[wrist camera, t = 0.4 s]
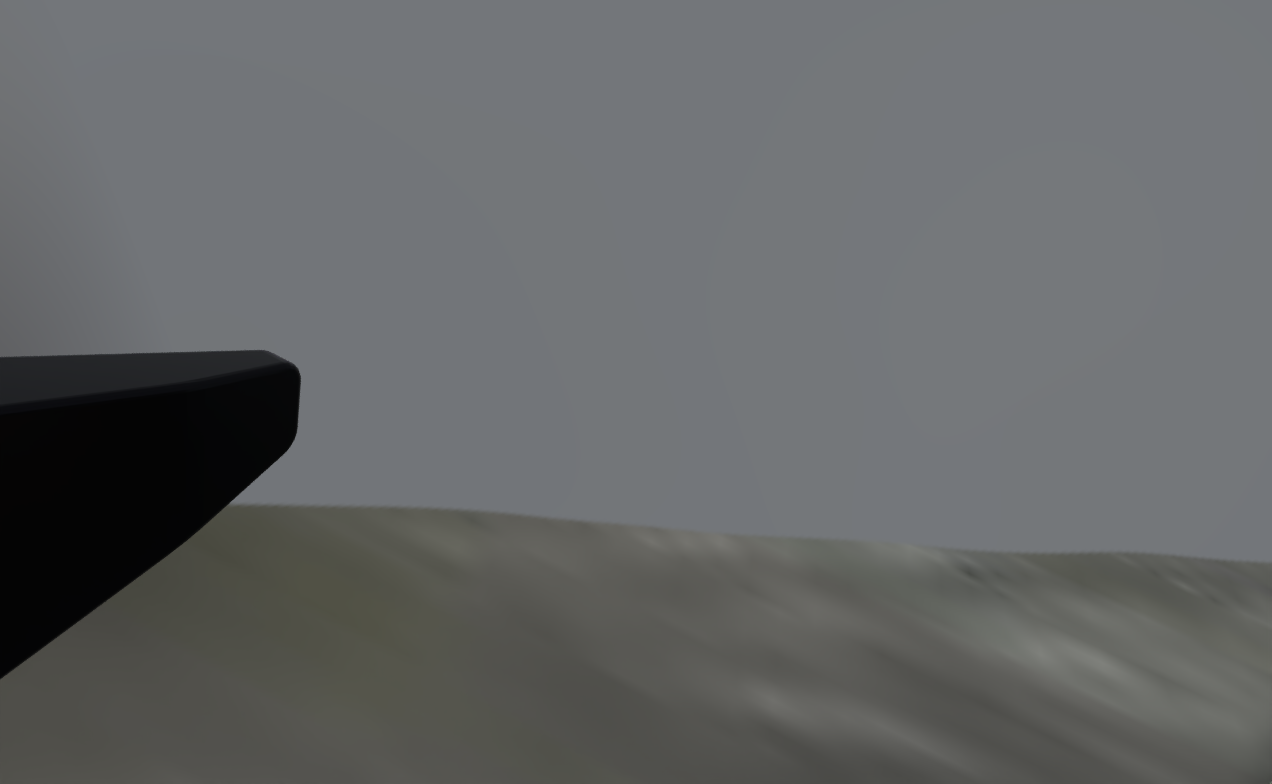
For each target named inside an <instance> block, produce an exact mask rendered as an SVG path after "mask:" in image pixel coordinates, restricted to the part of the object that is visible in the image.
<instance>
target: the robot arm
mask: <svg viewBox="0 0 1272 784" xmlns="http://www.w3.org/2000/svg"><path fill="white" fill-rule="evenodd" d="M300 385H301V376H300V373H299V370H298V368H297V367H296V366H295V365H294V364H293V363H291V362H289V361H287V360H285V359H283V358H281V357H279V356H278V355H276V354H274V353H271V352H269V351H265V350H245V351H207V352H169V353H134V354H133V353H132V354H95V355H58V356H21V357H0V679H1V678H3V677H4V676H5V675H7V674H8V673H9V672H11V671H12V670H14V669H15V668H16V667H18V666H19V665H20V664H22V663H23V662H24V661H26V660H27V659H28V658H30V657H31V656H33V655H34V654H35V653H37V652H38V651H39V650H41V649H42V648H43V647H45V646H46V645H47V644H49V643H50V642H51V641H53V640H54V639H56V638H57V637H58V636H60V635H61V634H62V633H64V632H65V631H66V630H68V629H69V628H70V627H72V626H73V625H74V624H76V623H77V622H79V621H80V620H81V619H83V618H84V617H85V616H87V615H88V614H89V613H91V612H92V611H93V610H95V609H96V608H97V607H99V606H100V605H102V604H103V603H104V602H106V601H107V600H108V599H110V598H111V597H112V596H114V595H115V594H116V593H118V592H119V591H120V590H122V589H123V588H125V587H126V586H127V585H129V584H130V583H131V582H133V581H134V580H135V579H137V578H138V577H139V576H141V575H142V574H143V573H145V572H146V571H148V570H149V569H150V568H152V567H153V566H154V565H156V564H157V563H158V562H160V561H161V560H162V559H164V558H165V557H166V556H168V555H169V554H170V553H172V552H173V551H174V550H176V549H177V548H178V547H179V546H181V545H182V544H183V543H185V542H186V541H187V540H188V539H189V538H191V537H192V536H193V535H194V534H195V533H196V532H198V531H199V530H200V529H201V528H202V527H203V526H204V525H206V524H207V523H208V522H209V521H210V520H211V519H212V518H213V517H214V516H216V515H217V514H218V513H219V512H220V511H221V510H222V509H223V508H224V507H226V506H227V505H228V504H229V503H230V502H231V501H232V500H233V499H234V498H235V497H237V496H238V495H239V494H240V493H241V492H242V491H243V490H244V489H246V488H247V487H248V486H249V485H250V484H251V483H252V482H253V481H254V480H255V479H257V478H258V477H259V476H260V475H261V474H262V473H263V472H264V471H266V470H267V469H268V468H269V467H270V466H271V465H272V464H273V463H274V462H276V461H277V460H278V459H279V458H280V457H281V456H282V455H283V454H284V453H285V452H286V451H287V450H288V449H289V448H290V446H291V445H292V443H293V441H294V439H295V436H296V433H297V427H298V412H299V399H300Z"/></svg>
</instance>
